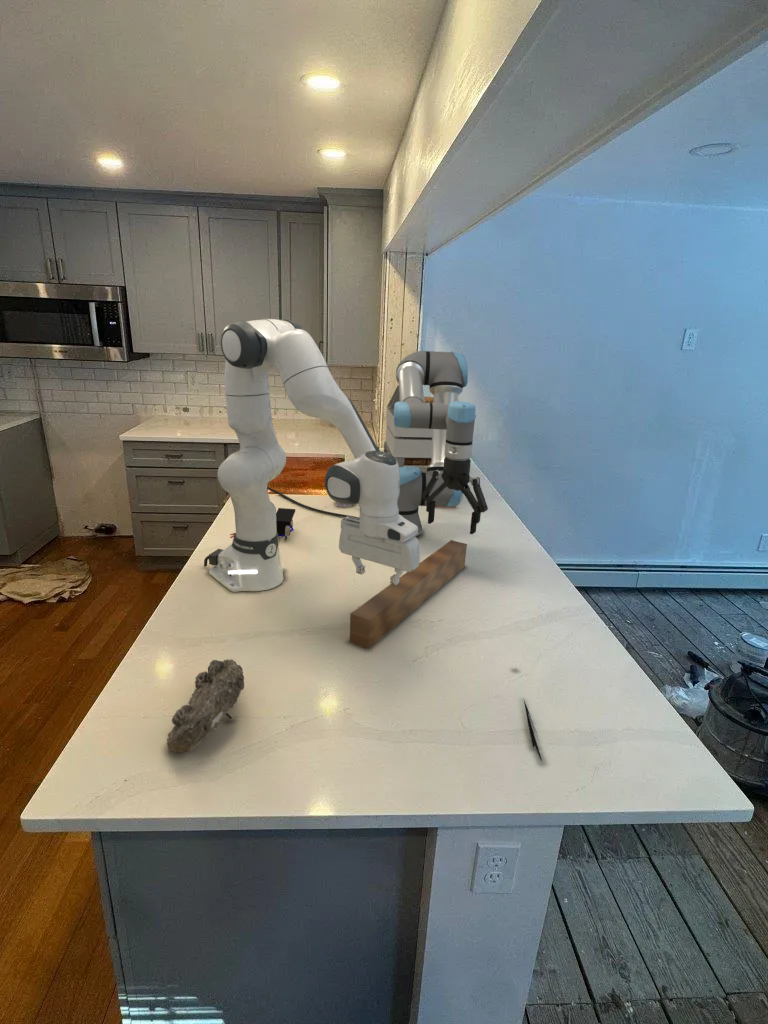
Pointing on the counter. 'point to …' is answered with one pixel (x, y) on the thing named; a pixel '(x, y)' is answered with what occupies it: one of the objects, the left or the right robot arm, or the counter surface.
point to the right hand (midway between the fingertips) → (451, 527)
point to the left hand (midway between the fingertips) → (377, 578)
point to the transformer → (407, 439)
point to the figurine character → (284, 522)
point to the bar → (405, 595)
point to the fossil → (206, 705)
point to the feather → (532, 731)
